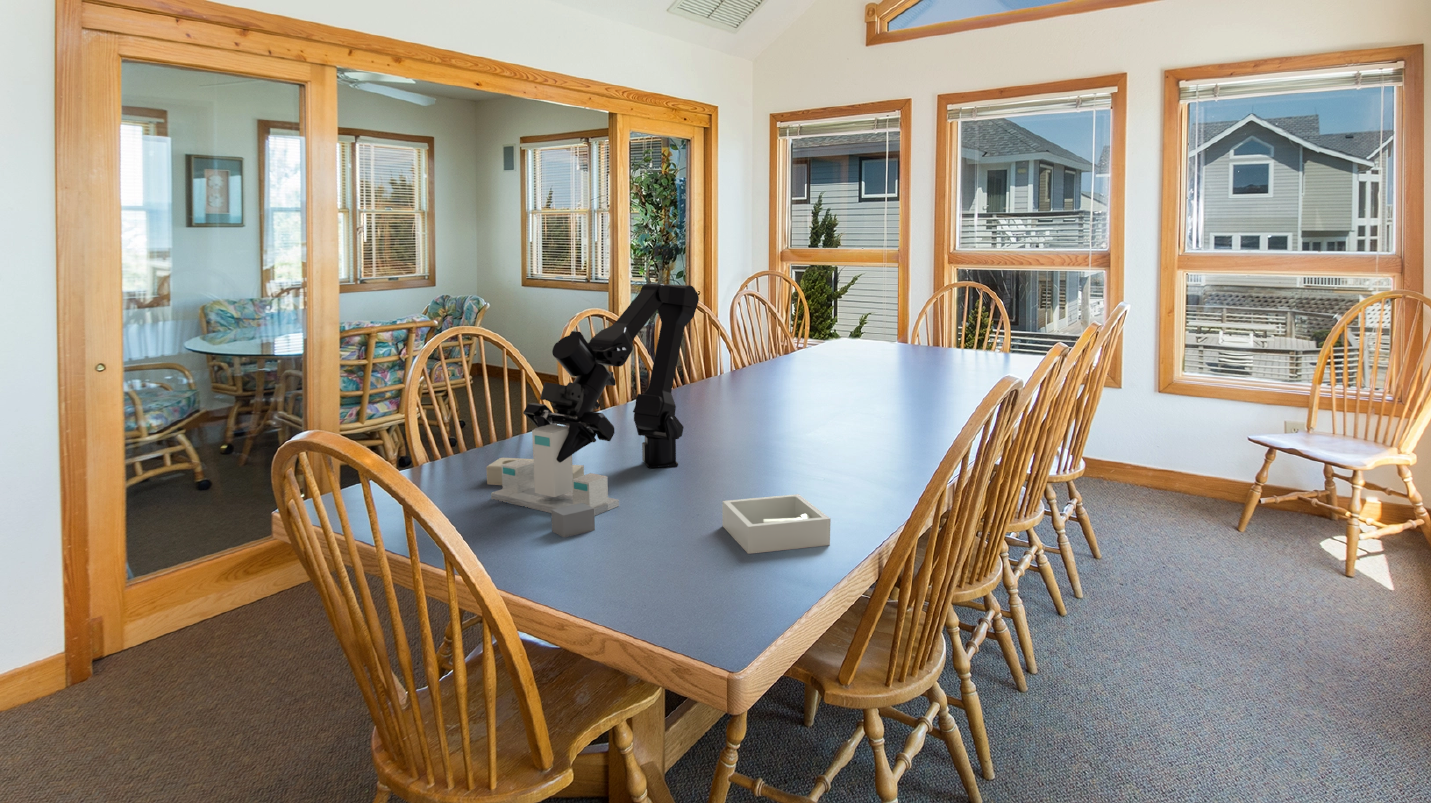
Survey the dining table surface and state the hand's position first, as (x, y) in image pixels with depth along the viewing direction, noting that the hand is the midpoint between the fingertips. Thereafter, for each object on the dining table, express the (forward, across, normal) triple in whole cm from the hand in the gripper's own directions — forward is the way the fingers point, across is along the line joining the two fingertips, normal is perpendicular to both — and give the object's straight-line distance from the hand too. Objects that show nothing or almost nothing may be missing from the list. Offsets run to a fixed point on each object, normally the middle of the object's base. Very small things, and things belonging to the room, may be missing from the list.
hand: (547, 459), depth 168 cm
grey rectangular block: (+12, +14, 0) cm, 18 cm away
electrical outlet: (0, -13, +13) cm, 19 cm away
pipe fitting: (+1, +45, +12) cm, 47 cm away
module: (+4, 0, +6) cm, 7 cm away
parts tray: (0, +44, +12) cm, 45 cm away
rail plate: (+5, 0, +7) cm, 9 cm away
